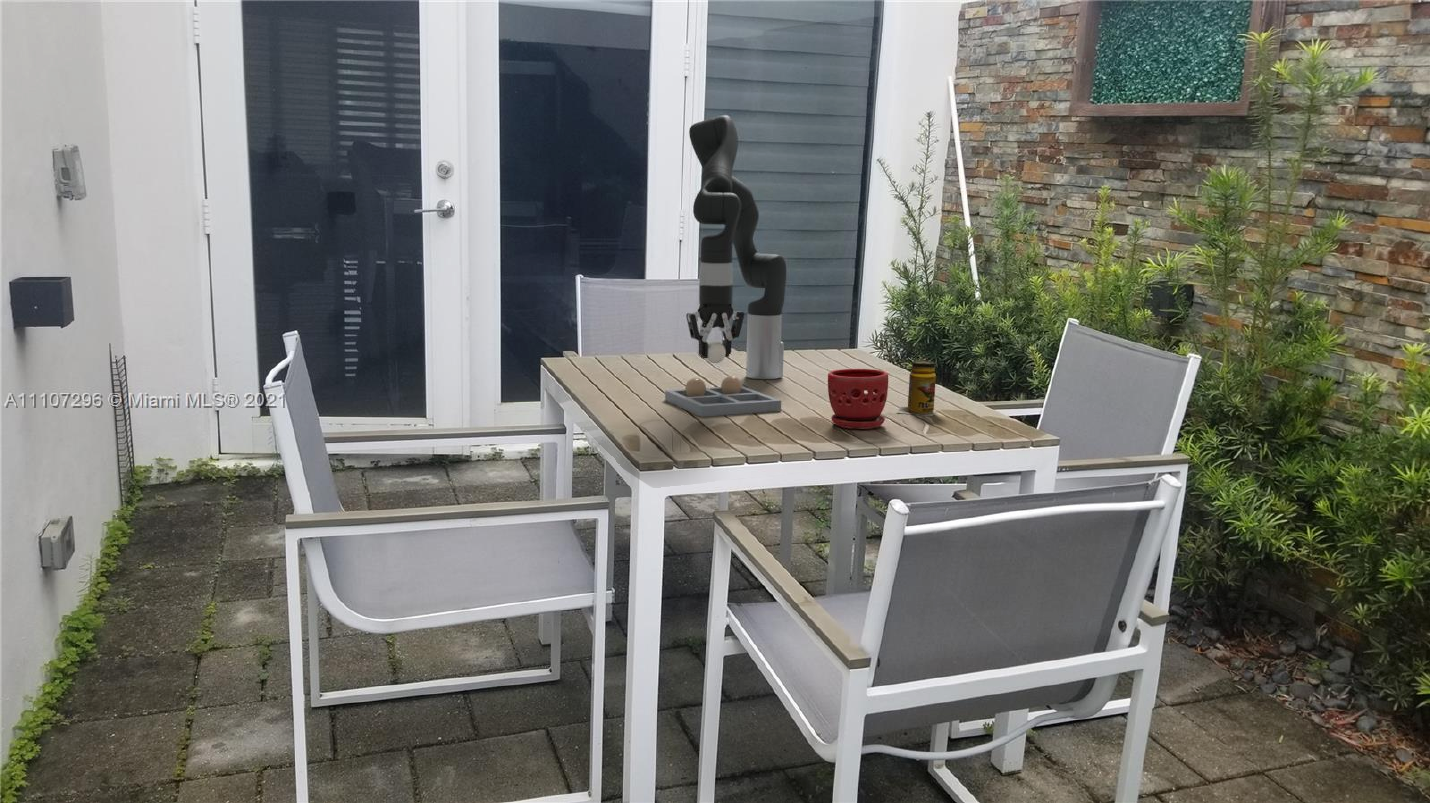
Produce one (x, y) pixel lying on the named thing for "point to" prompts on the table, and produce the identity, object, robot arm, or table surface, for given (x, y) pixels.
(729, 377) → the brown egg
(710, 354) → the pale egg
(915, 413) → the condiment
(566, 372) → the table surface
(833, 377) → the plant pot
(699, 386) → the brown egg
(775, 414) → the table surface
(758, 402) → the egg tray
